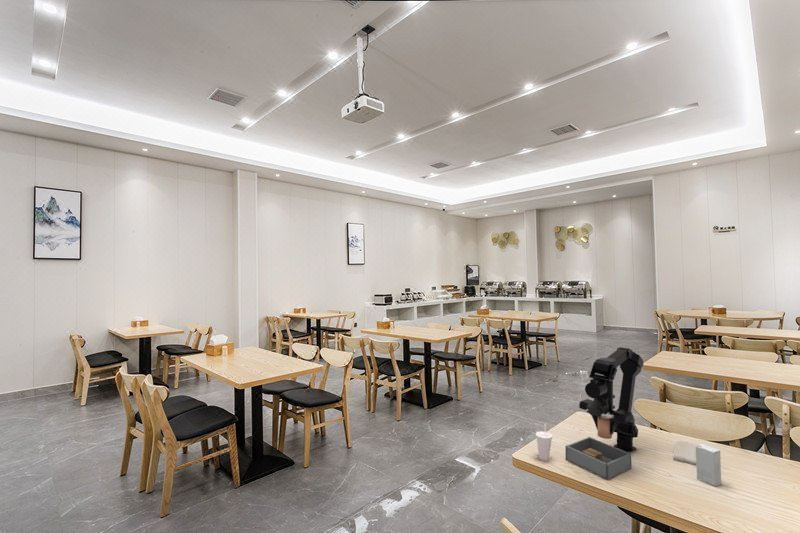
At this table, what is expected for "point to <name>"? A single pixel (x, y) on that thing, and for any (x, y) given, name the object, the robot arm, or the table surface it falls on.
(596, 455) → the cube
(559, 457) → the table surface
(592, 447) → the tote
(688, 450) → the washcloth
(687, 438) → the table surface
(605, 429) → the cylinder
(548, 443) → the smoothie
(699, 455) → the skincare box
